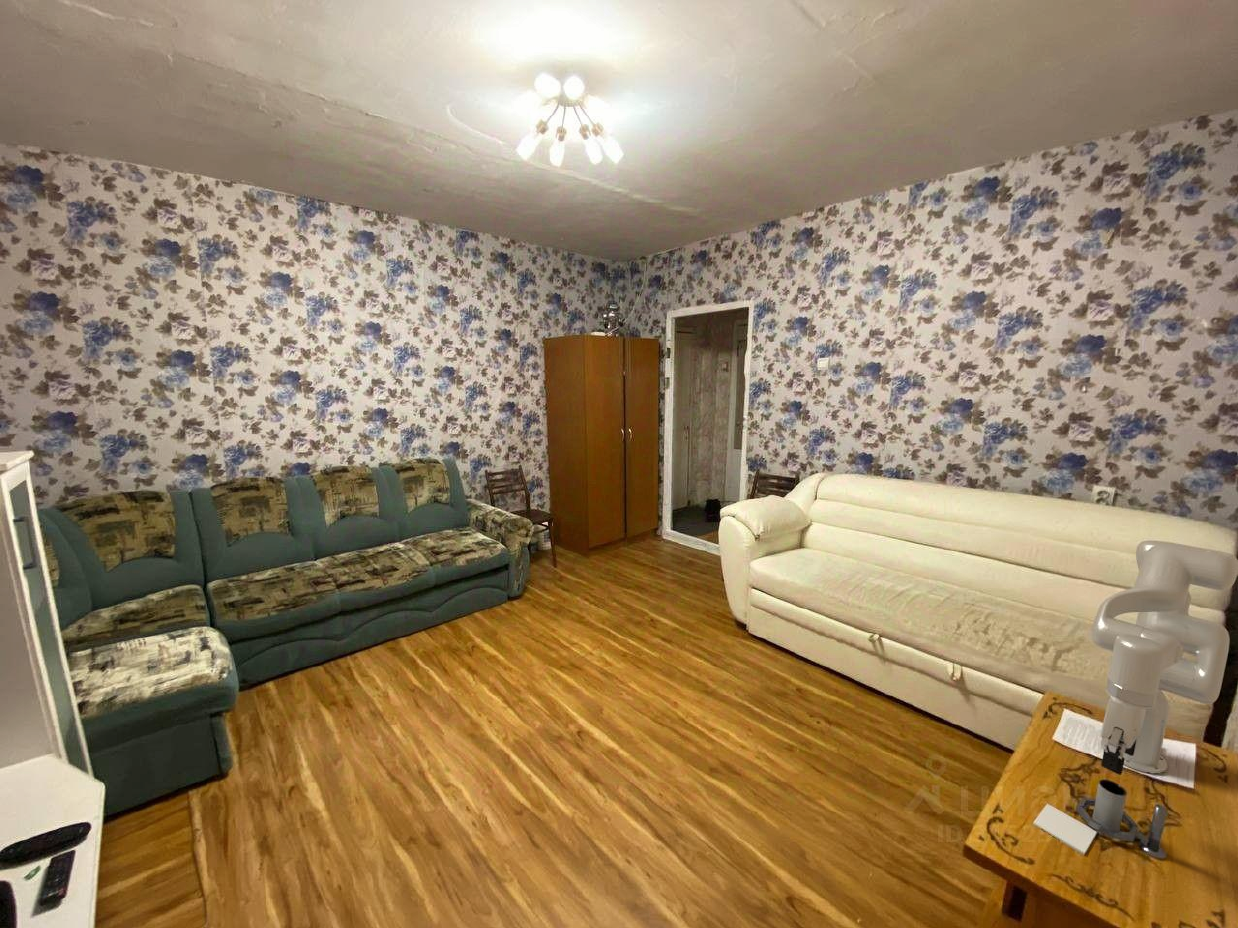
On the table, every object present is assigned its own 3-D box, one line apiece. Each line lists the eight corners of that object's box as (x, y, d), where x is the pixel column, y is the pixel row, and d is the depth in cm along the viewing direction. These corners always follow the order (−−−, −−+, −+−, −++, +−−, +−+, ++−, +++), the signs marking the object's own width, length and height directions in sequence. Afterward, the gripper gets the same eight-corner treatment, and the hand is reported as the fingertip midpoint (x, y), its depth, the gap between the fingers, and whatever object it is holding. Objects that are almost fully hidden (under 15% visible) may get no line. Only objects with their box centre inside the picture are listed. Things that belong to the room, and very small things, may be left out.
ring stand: (1084, 800, 121) (1091, 761, 119) (1170, 845, 109) (1179, 803, 107) (1071, 820, 116) (1078, 779, 114) (1160, 870, 104) (1169, 826, 102)
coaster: (1046, 805, 120) (1047, 803, 120) (1096, 833, 112) (1097, 831, 112) (1032, 824, 115) (1033, 822, 115) (1084, 855, 107) (1084, 852, 107)
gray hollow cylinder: (1124, 835, 112) (1132, 796, 110) (1101, 832, 113) (1108, 793, 111) (1109, 818, 116) (1116, 780, 114) (1087, 815, 117) (1093, 777, 115)
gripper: (1118, 670, 116) (1106, 735, 119) (1095, 696, 106) (1083, 766, 109) (1164, 687, 110) (1150, 755, 112) (1145, 716, 100) (1130, 789, 103)
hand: (1117, 760), depth 111 cm, fingers open, 9 cm apart
